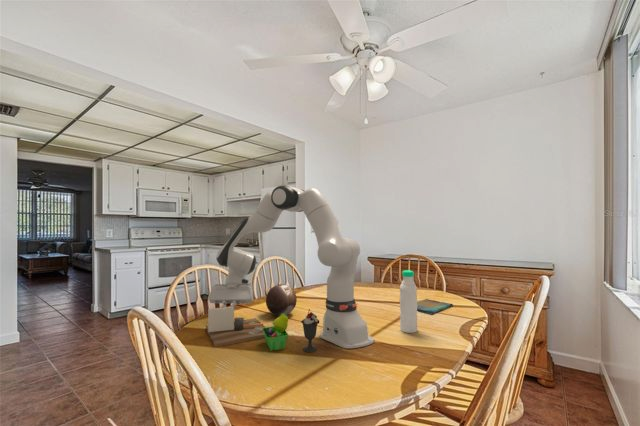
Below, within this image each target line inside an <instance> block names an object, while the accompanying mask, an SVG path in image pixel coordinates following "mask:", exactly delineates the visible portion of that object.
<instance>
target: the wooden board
mask: <svg viewBox="0 0 640 426" xmlns="http://www.w3.org/2000/svg"><path fill="white" fill-rule="evenodd" d="M234 323H235V321H234ZM252 324H262V323H261V322H260V321H259V319H257V318H250V319H249V318H248V319H243V329H242V330H235V329H234V330H226V331H216V332H208V325H205V331H206V330H207V331H206V332H208V333H207V335H208V337H209V339H210V340H211V342H212V344H213V346H214V348H217V347H218V346H219V347H223V345H224V346H228V344H229V345H233V344H238V343H245V342H249V340H250V341H253V340H259V339H265V335H264V332H263V328H266V326H265V325H264V324H263V326H254V327H244V325H252Z"/></svg>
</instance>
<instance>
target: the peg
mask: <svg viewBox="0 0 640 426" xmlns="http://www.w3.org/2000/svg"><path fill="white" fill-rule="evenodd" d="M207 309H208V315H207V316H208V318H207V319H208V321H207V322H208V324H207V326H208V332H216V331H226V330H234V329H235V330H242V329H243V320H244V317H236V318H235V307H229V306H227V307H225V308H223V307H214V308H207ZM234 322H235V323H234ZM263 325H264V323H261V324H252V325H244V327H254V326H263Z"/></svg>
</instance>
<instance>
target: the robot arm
mask: <svg viewBox="0 0 640 426" xmlns="http://www.w3.org/2000/svg"><path fill="white" fill-rule="evenodd" d="M284 211H288V212H292V213H293V212H296V213H301V212H303V214H304V215H305V218H306V219H307V221H308V222H309V224H310V226H311V228H312V230H313V232H314V234H315V237H316V242H317V245H318V248H317V258H318V260H319V262H320V263H321V264H322V265H324V266H325V267H326V266H327V267H330V272H329V274H328V276H327V277H326V278H327V279H326V299H325V308H326V310H325V312H324V314H323V319H322V320H323V321H322V330H321V331H322V332H321V333H320V334H319V338H320V339H323V340H324V341H327V342H330V343H332V344H333V345H336V346H339V347H340V348H342V349H357V348H363V347H367V346H369V345H372V344H373V343H374V342H375V338H374V337H373V336H371V335H370V334H369V331H368V330H369V329H368V324H367V321H366V319H363V317H362V316H361V314H360V313H359V312H358V310H357V309H358V308H357V307H358V303H357V302H356V300H355V295H354V294H355V293H354V292H355V290H354V289H355V285H354V284H355V274H356V269H357V263H358V259H359V256H360V253H361V247H360V244H359V243H358V241H356V240H355V239H352V238H351V237H342V235H341V233H340V232H341V231H340V228H339V220H338V219H337V217H336V215H335V213H334V211H333V210H332V207H331V206H330V204H329V203H328V201H327V200H326V198H325V196H323V194H322V193H321V192H320V191H319V189H317V188H308V189H306V190H303V189H300V188H298V187H296V186H290V185H285V184H284V185H279V186H278V185H277V186H276V187H275V188H274V189H273V190H272V191H269V192H267V193H266V194H264V196H263V198H262V199H261V200H260V202H259V204H258V205H257V208H256V210H255V211H254V212H253V213H252V214H251V215H250V216H246V217H244V218H243V219H242V220H241V221H240V223H239V224H238V225H237V226H236V228H235V229H234V230H233V232H232V233H231V235H230V236H229V237H228V239H227V240H226V242H225V243H223V245H222V246H221V247H220V248H219V250H218V251H217V254H216V262H217V264H218V265H219V266H221V267H226V268H227V267H228V272H227V275H226V278H225V281H224V284H223V283H222V284H221V283H220V284H218V283H216V284H214V285H212V287H211V288H210V292H209V294H208V297H207V300H208V302H209V303H210V304H222V306H223V307H222V308H225V307H234V308H235V307H237V304H252V302H253V300H254V291H253V288H254V287H253V283H252V281H251V280H250V279H246V276H248V275H250V274H251V273H253V271H255V269H256V265H257V258H256V255H255V254H254V253H252V252H249V251H246V250H243V249H240V248H237V247H235V246H236V245H237V244H238V242H239V241H240V239H241V238H242V237H243V236H244V235H246V234H249V233H250V234H251V233H260V234H261V233H266V232H270V231H271V230H273V229H274V227H275V225H276V224H277V222H278V220H279V218H280V216H281V215H282V212H284ZM227 304H231V305H230V306H227Z"/></svg>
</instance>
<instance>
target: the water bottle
mask: <svg viewBox="0 0 640 426" xmlns="http://www.w3.org/2000/svg"><path fill="white" fill-rule="evenodd" d="M401 272H402V273H401V274H402V277H403V278H402V281H401V283H400V285H399V311H400V314H399V320H400V321H399V324H400V325H399V328H400V331H401V332H403V333H407V334H414V333H417V331H418V330H419V328H418V312H417V301H418V295H417V294H418V287H417V285H416V283H415V281H414V276H415V272H414V271H413V270H409V269H407V270H402V271H401Z"/></svg>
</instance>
